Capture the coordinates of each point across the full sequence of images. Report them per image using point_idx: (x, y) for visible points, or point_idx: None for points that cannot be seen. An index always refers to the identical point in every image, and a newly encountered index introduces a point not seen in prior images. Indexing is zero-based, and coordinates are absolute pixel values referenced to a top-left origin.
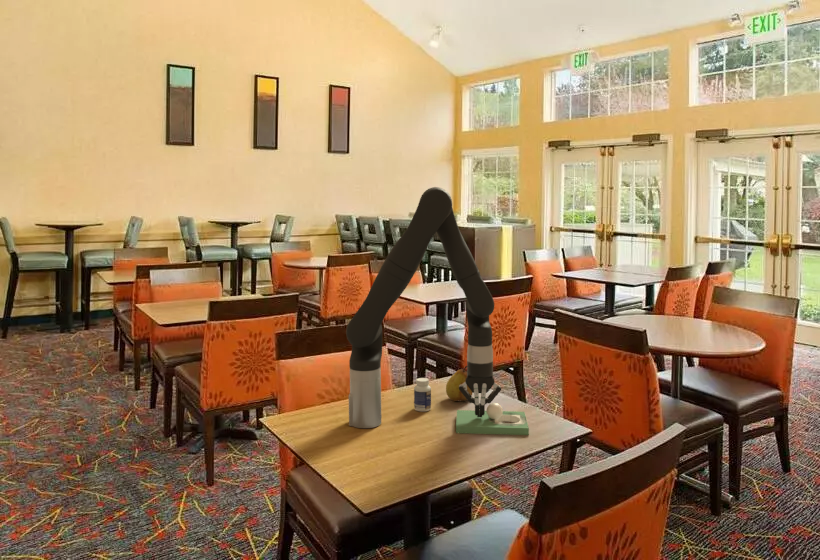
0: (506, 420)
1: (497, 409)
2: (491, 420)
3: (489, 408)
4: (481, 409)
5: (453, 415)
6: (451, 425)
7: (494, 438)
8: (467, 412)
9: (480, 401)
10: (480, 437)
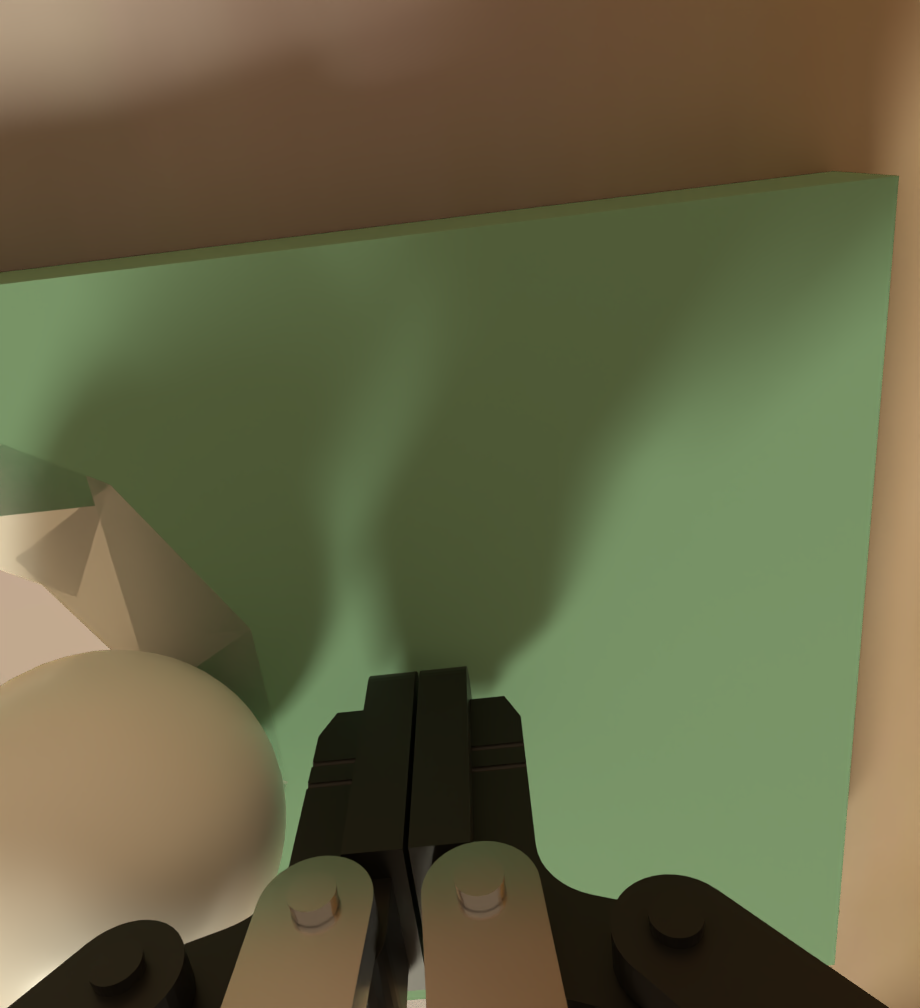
0: None
1: None
2: (199, 638)
3: (163, 801)
4: (369, 777)
5: (844, 904)
6: (897, 537)
7: (54, 20)
8: None
9: (398, 1004)
10: (338, 21)
